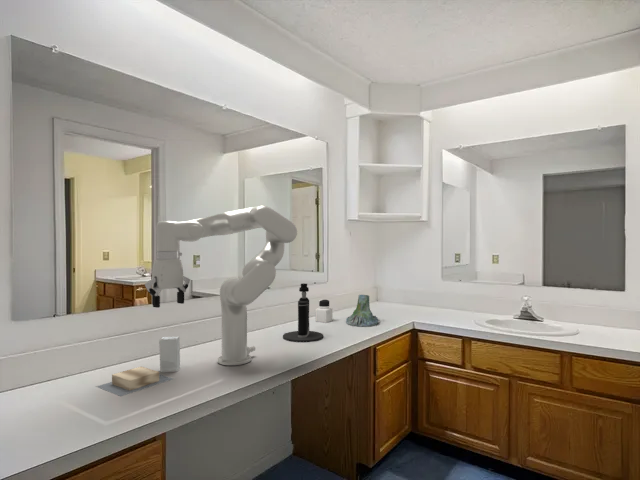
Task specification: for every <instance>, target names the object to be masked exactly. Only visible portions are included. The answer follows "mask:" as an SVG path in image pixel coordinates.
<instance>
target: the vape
mask: <svg viewBox="0 0 640 480" xmlns="http://www.w3.org/2000/svg"><path fill="white" fill-rule="evenodd" d="M298 290H299V293H300V292H301V297H300V298H299V300H298V301H297V330H294V331H288V332H286V333H283V335H282V339H283V340H285V341H287V342H292V343H313V342H318V341H321V340H322V339H324V334H323V333H321V332H318V331H316V330H315V331H314V330H310V299H309V298H308V297H307V293H308V292H309V286H308V283H300V287H299V289H298Z"/></svg>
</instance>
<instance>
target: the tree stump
mask: <svg viewBox="0 0 640 480" xmlns="http://www.w3.org/2000/svg"><path fill="white" fill-rule="evenodd" d="M379 321H380V319H379V318H378V317H377V316H376V315H373V312H372V310H371V307H370V295H368V294H359V295H358V299H357V304H356V307H355V309H354V310H353V312H352V314H351V315H350V316H347V317H346V319H345V323H346V324H347V325H348V326H351V327H359V328H370V327H375V326H378V324H379Z"/></svg>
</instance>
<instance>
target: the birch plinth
mask: <svg viewBox="0 0 640 480" xmlns="http://www.w3.org/2000/svg"><path fill="white" fill-rule="evenodd" d="M159 374H160V371H158V370H154V369H151V368H147V367H145V366H138V367H134V368H131V369H127V370H123V371H119V372H116V373H112V374H111V382H112V384H113V385H116V386H119V387H121V388H124V389H127V390H133V389H136V388H139V387H143V386H146V385H149V384H152V383H155V382H158V381H159Z"/></svg>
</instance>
